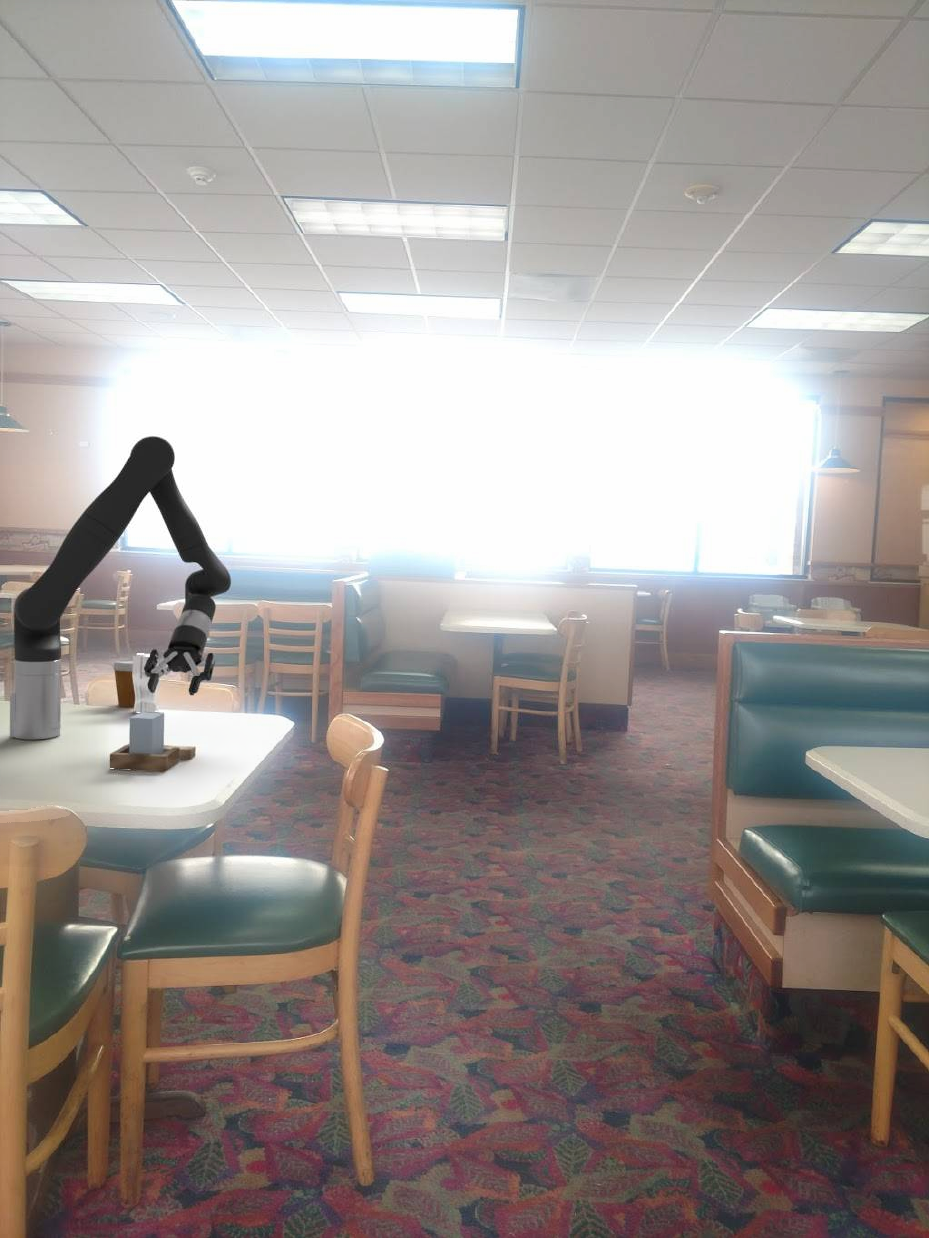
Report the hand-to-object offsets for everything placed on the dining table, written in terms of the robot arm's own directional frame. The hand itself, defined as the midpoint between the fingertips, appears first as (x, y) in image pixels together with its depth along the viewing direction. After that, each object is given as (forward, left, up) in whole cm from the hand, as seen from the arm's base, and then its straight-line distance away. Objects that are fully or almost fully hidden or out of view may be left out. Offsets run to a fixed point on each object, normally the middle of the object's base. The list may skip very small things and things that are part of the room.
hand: (171, 692), depth 178 cm
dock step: (0, -7, -12) cm, 14 cm away
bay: (0, -14, -12) cm, 19 cm away
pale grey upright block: (0, -14, -12) cm, 19 cm away
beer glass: (-20, +38, -13) cm, 45 cm away
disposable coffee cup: (-27, +46, -13) cm, 55 cm away
